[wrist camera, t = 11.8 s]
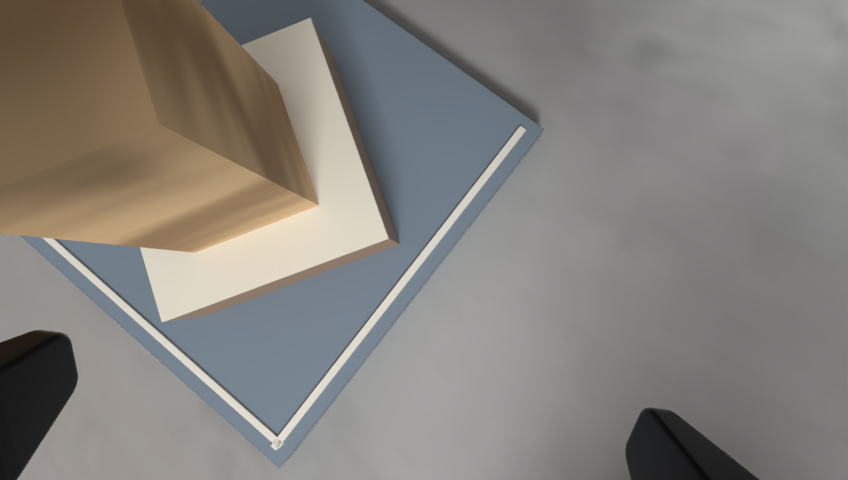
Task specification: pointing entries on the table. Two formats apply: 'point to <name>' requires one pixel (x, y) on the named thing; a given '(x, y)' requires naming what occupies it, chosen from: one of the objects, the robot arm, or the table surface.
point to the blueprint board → (316, 220)
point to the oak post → (139, 127)
